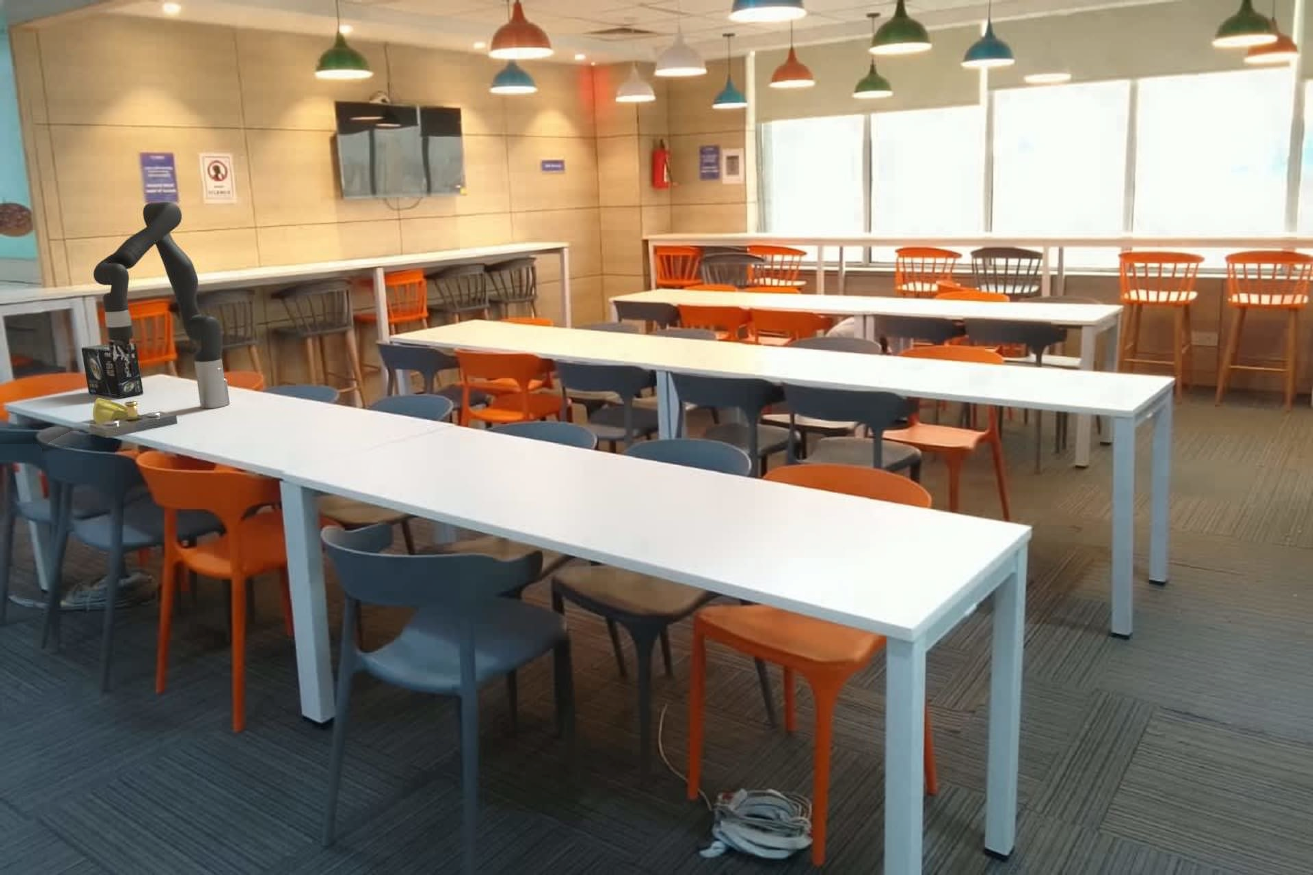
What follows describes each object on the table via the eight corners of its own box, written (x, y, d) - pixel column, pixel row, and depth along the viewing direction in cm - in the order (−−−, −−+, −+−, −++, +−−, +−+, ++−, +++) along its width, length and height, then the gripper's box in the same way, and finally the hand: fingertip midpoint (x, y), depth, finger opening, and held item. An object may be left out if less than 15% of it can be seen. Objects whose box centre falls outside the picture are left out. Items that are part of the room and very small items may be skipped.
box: (87, 394, 419) (80, 346, 414) (111, 389, 427) (104, 343, 422) (120, 399, 406) (112, 350, 402) (144, 394, 414) (137, 347, 410)
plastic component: (142, 416, 364) (112, 408, 356) (134, 436, 363) (105, 428, 356) (121, 404, 377) (93, 396, 370) (114, 423, 377) (85, 416, 370)
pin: (137, 426, 357) (133, 400, 355) (143, 428, 355) (139, 402, 353) (126, 428, 355) (122, 402, 352) (132, 430, 352) (128, 404, 350)
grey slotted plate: (161, 419, 367) (159, 409, 366) (177, 423, 361) (175, 412, 360) (90, 433, 349) (89, 422, 348) (106, 437, 342) (104, 426, 341)
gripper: (140, 324, 345) (148, 373, 349) (119, 321, 353) (127, 369, 357) (118, 327, 339) (125, 376, 343) (97, 324, 348) (105, 372, 352)
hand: (126, 372), depth 350 cm, fingers open, 8 cm apart
